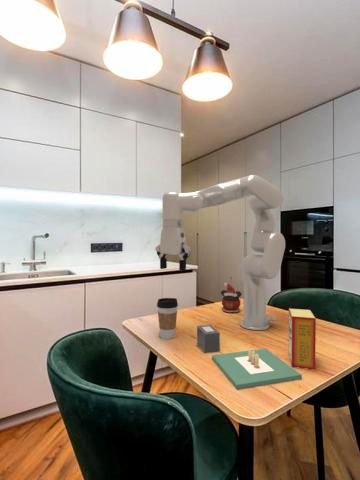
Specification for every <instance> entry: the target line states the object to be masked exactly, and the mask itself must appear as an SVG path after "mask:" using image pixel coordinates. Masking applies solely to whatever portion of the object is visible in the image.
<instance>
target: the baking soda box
mask: <svg viewBox="0 0 360 480" xmlns="http://www.w3.org/2000/svg"><path fill="white" fill-rule="evenodd" d="M316 323H317V319H316V316H314V314H313V312H312V311H311V310H310V309H301V308H291V307H289V308H288V357H289V361H290V364H291V367H292V368H295V367H299V368H298V369H303V368H308V369H307V370H311V369H315V370H316V332H317V331H316V330H317V329H316V326H317V324H316Z"/></svg>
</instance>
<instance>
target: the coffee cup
mask: <svg viewBox="0 0 360 480" xmlns="http://www.w3.org/2000/svg"><path fill="white" fill-rule="evenodd" d="M178 304H179V303H178V299H177V298H175V297H173V298H172V297H164V298H159V299H157V302H156V307H157V316H158V328H159V337H160V338H161V339H163V340H171V339H173V338H175V337H176V326H177V317H178V316H177V315H178V310H177V308H178V307H179V306H178Z"/></svg>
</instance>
